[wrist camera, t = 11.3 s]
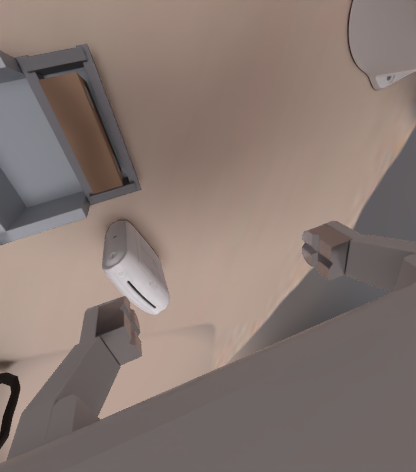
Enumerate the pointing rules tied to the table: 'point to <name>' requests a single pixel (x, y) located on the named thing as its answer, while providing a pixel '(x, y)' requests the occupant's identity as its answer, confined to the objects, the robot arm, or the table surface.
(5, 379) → the mug
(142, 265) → the photo printer
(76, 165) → the cabinet
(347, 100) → the table surface
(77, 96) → the brown rectangular block
